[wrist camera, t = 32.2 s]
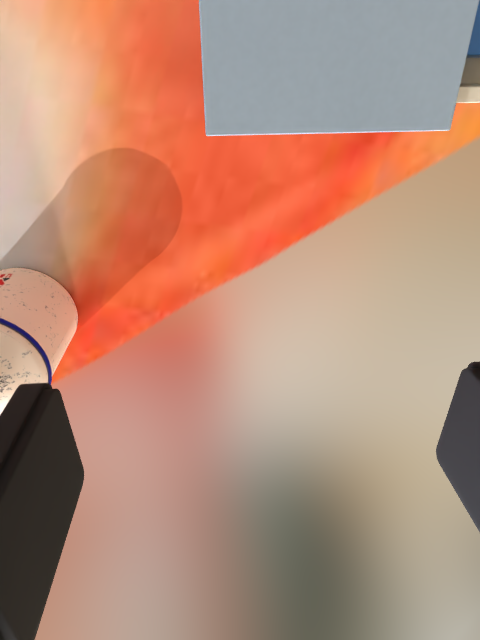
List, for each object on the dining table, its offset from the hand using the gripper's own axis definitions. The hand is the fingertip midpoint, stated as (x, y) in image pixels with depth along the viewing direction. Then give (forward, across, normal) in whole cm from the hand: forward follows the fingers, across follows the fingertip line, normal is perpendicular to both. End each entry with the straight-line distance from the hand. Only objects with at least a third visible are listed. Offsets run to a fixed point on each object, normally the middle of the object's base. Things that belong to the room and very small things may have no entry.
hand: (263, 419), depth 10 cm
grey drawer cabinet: (+26, -6, -10) cm, 29 cm away
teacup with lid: (+26, +19, +12) cm, 35 cm away
